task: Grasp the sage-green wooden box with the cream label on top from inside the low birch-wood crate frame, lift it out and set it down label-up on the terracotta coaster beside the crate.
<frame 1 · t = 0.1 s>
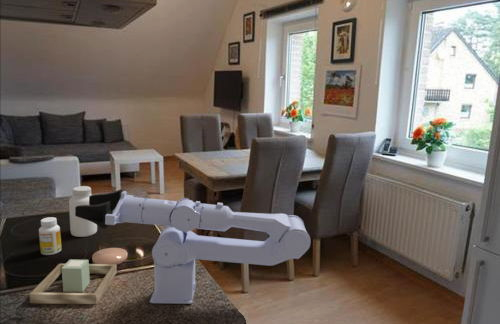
hand: (83, 205, 86), 22 cm above the kitchen counter, tool horizontal, fingers open, 7 cm apart
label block: (76, 275, 93), in the crate frame
crate frame: (76, 286, 94), on the kitchen counter
supplement bottle: (51, 251, 112), on the kitchen counter
coaster: (109, 258, 108), on the kitchen counter
pill bottle: (84, 233, 126), on the kitchen counter
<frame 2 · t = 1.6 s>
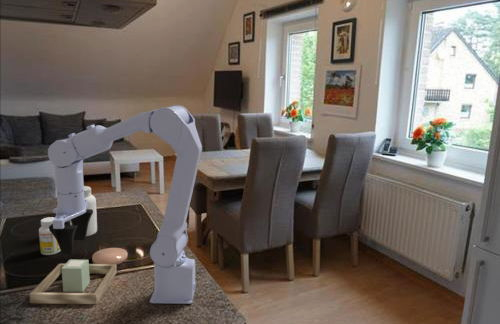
hand: (74, 246, 91), 10 cm above the kitchen counter, tool pointing down, fingers open, 7 cm apart
nothing on the kitchen counter moved.
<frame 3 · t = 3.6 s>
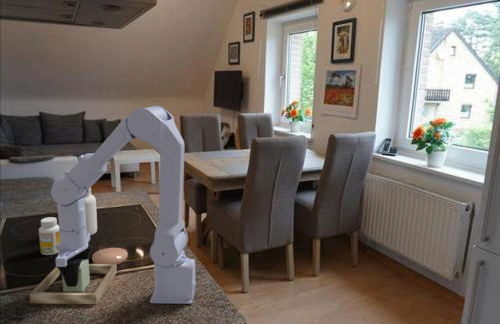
hand: (76, 280, 93), 2 cm above the kitchen counter, tool pointing down, fingers closed on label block, 4 cm apart
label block: (76, 275, 93), in the crate frame, touching gripper
everything else where it was.
when the fingers open (4 cm above the kitchen counter, at t = 10.2 s): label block drops 1 cm, resting on coaster.
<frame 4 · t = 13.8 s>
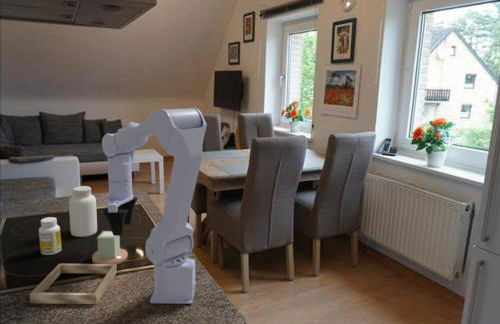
hand: (122, 229, 102), 10 cm above the kitchen counter, tool pointing down, fingers open, 7 cm apart
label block: (109, 244, 107), on the coaster, point 4 cm above the kitchen counter
everything else where it was.
at the end: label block 0.0 cm off-centre on the coaster, point 4.2 cm above the coaster's base; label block tilted 0°; the gripper is holding nothing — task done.
